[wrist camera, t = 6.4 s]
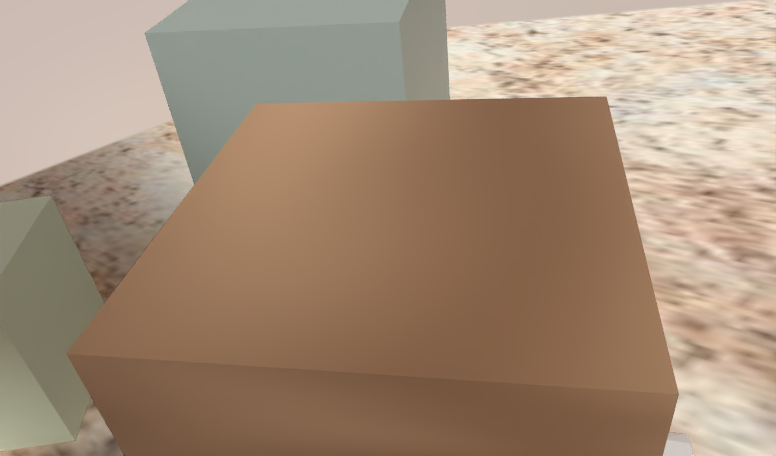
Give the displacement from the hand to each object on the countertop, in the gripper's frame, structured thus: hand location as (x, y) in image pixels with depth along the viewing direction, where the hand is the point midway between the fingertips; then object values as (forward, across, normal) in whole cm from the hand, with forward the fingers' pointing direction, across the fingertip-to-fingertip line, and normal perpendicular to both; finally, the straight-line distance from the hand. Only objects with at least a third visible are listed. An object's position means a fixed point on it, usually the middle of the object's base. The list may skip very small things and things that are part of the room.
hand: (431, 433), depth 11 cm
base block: (+17, +6, +6) cm, 19 cm away
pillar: (-1, 0, +6) cm, 7 cm away
